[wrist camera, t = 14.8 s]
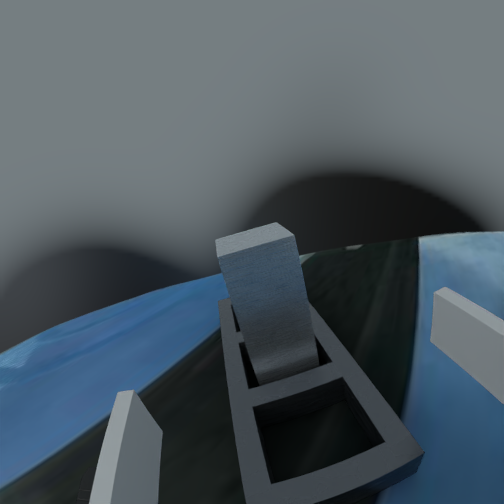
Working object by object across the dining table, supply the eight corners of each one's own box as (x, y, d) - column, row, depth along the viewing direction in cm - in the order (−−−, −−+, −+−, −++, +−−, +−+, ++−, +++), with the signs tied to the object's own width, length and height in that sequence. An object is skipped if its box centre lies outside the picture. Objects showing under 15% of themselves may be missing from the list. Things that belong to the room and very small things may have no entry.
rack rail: (261, 530, 10) (249, 519, 9) (224, 318, 34) (217, 301, 34) (416, 471, 10) (424, 452, 9) (294, 297, 35) (291, 279, 34)
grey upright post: (265, 402, 20) (217, 257, 16) (255, 367, 24) (215, 239, 21) (322, 383, 20) (294, 234, 17) (305, 351, 25) (276, 222, 21)
